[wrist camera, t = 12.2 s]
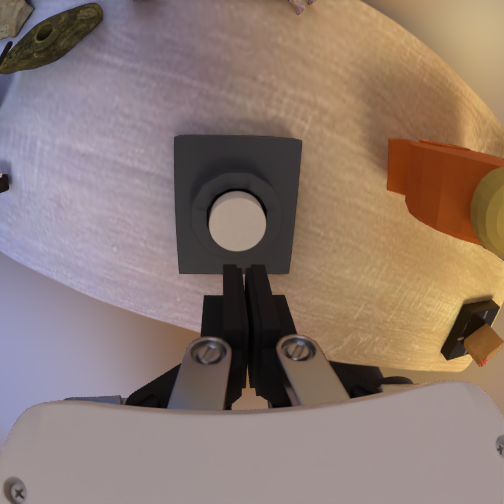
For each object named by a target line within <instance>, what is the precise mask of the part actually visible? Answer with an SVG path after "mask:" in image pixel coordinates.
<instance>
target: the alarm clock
mask: <svg viewBox="0 0 504 504" xmlns="http://www.w3.org/2000/svg"><path fill="white" fill-rule="evenodd" d="M387 190H389V191H393V192H396V193H399V194H403V195H406V198H405V202H406V205H407V208H408V210H409V213H411V214H412V215H413V216H414V217H415V218H417V219H418V220H419V221H421V222H423V223H424V224H426V225H428V226H430V227H432V228H434V229H436V230H438V231H440V232H443V233H445V234H448V235H450V236H453V237H455V238H458V239H461V240H464V241H468V242H471V243H475V244H478V245H482V246H484V247H485V248H486V249H488V250H489V251H491V252H493V253H495V254H497V255H500V256H504V159H502V158H499V157H495V156H492V155H488V154H484V153H480V152H476V151H472V150H470V149H467V148H463V147H460V146H456V145H451V144H444V143H437V142H430V141H421V140H420V142H416V141H410V140H402V139H390V138H389V162H388V183H387Z"/></svg>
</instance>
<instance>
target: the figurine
mask: <svg viewBox="0 0 504 504" xmlns="http://www.w3.org/2000/svg"><path fill="white" fill-rule="evenodd" d="M288 1H290V2H291V3H293V4H294V5H295V6H296V8H297V11H296V14H297V15H299V14H301V13H302V12H303V11H304V10H305V9H306V6H304V5H303V4H301V3H300V2H299V1H298V0H288ZM314 1H315V0H308V5H311V4H312V3H313V2H314Z"/></svg>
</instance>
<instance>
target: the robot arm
mask: <svg viewBox="0 0 504 504" xmlns="http://www.w3.org/2000/svg"><path fill="white" fill-rule="evenodd" d="M247 366H248V375H249V384H250V388H255V390H256V396H261V397H263V398H264V399H266V400H267V401H268V408H269V409H254V410H232V403H234V402H235V401H236V400H237V399H239V398H240V397H241V395H242V388H246V375H247ZM0 504H504V417H503V416H502V414H501V412H500V411H499V410H498V408H497V407H496V405H495V404H494V403H493V401H492V400H491V399H490V397H489V396H488V395H487V394H486V393H485V392H484V391H483V390H482V389H481V388H480V387H479V386H477V385H476V384H473V383H471V382H467V381H460V380H443V381H434V382H428V383H422V384H384V385H381V386H380V387H376V386H375V385H374V384H372V383H371V382H369V381H367V380H365V379H362V378H360V377H358V376H356V375H354V374H352V373H350V372H348V371H346V370H344V369H342V368H340V367H338V366H336V365H334V364H332V363H330V362H329V361H328V360H327V358H326V356H325V355H324V353H323V351H322V350H321V348H320V346H319V345H318V344H317V342H316V341H315V340H313V339H312V338H310V337H308V336H305V335H300V334H297V332H296V329H295V325H294V322H293V319H292V316H291V313H290V310H289V307H288V304H287V300H286V297H285V295H272V291H271V287H270V283H269V280H268V276H267V272H266V268H265V265H264V264H251V266H250V268H246V269H245V291H244V283H243V275H242V268H237V265H236V264H223V295H204V301H203V313H202V325H201V337H200V338H197V339H195V340H193V341H192V342H191V343H190V344H189V345H188V347H187V348H186V351H185V354H184V357H183V360H182V363H180V364H179V365H177V366H176V367H174V368H172V369H171V370H169V371H168V372H166V373H165V374H163V375H161V376H160V377H158V378H156V379H155V380H153V381H152V382H150V383H148V384H147V385H145V386H143V387H142V388H140V389H138V390H137V391H135V392H134V393H132V394H131V395H130V396H129V397H128V398H121V396H120V395H118V396H101V397H72V398H66V399H64V400H57V401H51V402H44V403H40V404H37V405H34V406H32V407H30V408H28V409H26V410H25V411H24V412H23V413H22V414H21V415H20V416H19V418H18V419H17V421H16V422H15V424H14V425H13V427H12V429H11V431H10V433H9V435H8V437H7V440H6V442H5V444H4V447H3V450H2V452H1V455H0Z"/></svg>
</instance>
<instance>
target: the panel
mask: <svg viewBox="0 0 504 504" xmlns="http://www.w3.org/2000/svg"><path fill="white" fill-rule="evenodd" d="M499 308H500V307H499V306H498V305H497V304H496V303H495V302H494V301H493V300H488V301H482V302H476V303H471V304H465V305H463V307H462V309H461V311H460V313H459V316H458V318H457V320H456V322H455V324H454V326H453V328H452V330H451V332H450V334H449V336H448V338H447V340H446V342H445V344H444V346H443V348H442V350H441V353H442V354H443V356H444V357H445V358H446V360H451V359H454V358H457V357H460V356H464V355H467V354H469V353H468V351H467V350H466V349H465V348H464V339H466V338H467V337H468V336H470V335H471V334H472V333H474V332H475V331H476V330H478V329H479V328H480V327H482V326H483V325H484V324H485V323H487V324H488V325H489V326H490V327H491V325H492V323H493V321H494V319H495V317H496V315H497V312H498V310H499Z"/></svg>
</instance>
